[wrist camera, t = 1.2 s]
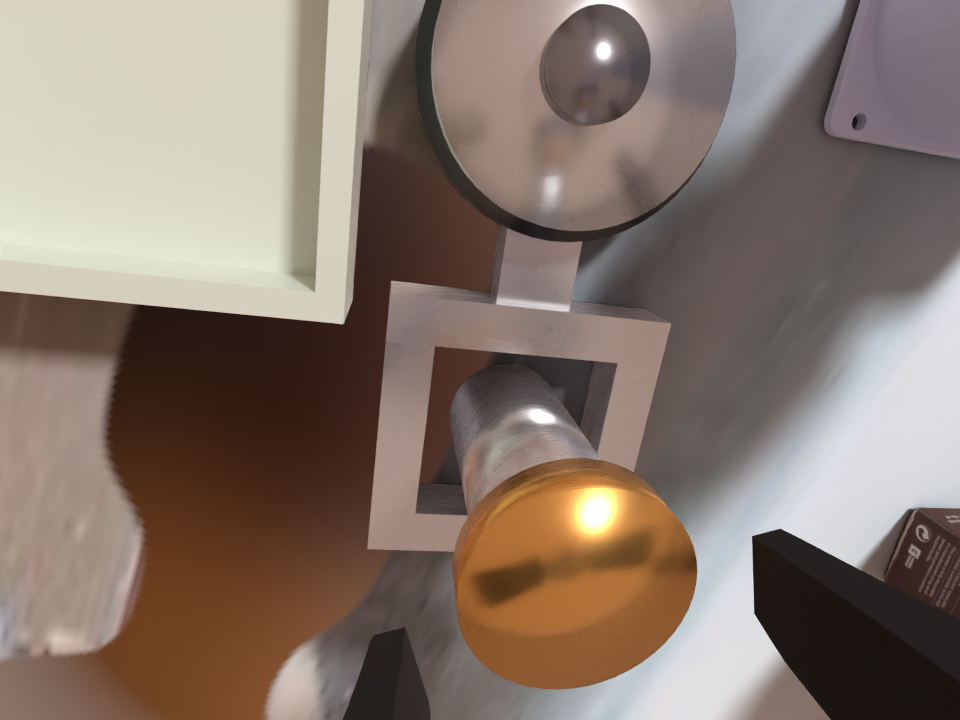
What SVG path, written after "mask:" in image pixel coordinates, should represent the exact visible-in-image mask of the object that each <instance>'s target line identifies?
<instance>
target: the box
mask: <svg viewBox="0 0 960 720" xmlns="http://www.w3.org/2000/svg"><path fill="white" fill-rule="evenodd" d="M885 583H886V584H888V585H890V586H892V587H894V588H896V589H898V590H900V591H902V592H904V593H906V594H908V595H910V596H913V597H915V598H917V599H919V600H921V601H923V602H925V603H927V604H929V605H931V606H933V607H936V608H938V609H940V610H942V611H944V612H946V613H949V614H951V615H953V616H955V617H957V618H960V509H949V508H916V509H915V510H914V511H913V513H912V514H911V516H910V517H909V518H908V519H907V520H906V524H905V528H904V530H903V532H902V534H901V536H900V538H899V540H898V542H897V546H896V549H895V551H894V554H893V555H892V560H891V563H890V565H889V567H888V571H887V573H886V577H885Z"/></svg>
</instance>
